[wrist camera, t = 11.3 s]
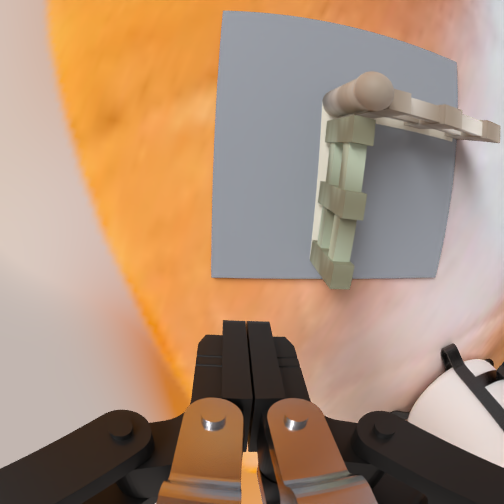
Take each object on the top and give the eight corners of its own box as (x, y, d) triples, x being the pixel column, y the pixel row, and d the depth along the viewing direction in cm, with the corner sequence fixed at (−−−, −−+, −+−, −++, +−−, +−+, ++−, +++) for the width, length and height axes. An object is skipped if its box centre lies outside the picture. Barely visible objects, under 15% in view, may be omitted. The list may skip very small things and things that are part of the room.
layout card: (454, 62, 17) (457, 62, 17) (433, 276, 23) (435, 277, 23) (223, 12, 16) (223, 10, 15) (211, 275, 21) (211, 277, 21)
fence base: (457, 119, 19) (519, 121, 12) (456, 144, 19) (518, 151, 13) (321, 87, 18) (364, 63, 11) (320, 116, 18) (363, 104, 12)
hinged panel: (327, 120, 18) (354, 114, 14) (344, 124, 18) (375, 119, 14) (309, 260, 21) (329, 289, 17) (326, 261, 21) (349, 289, 17)
